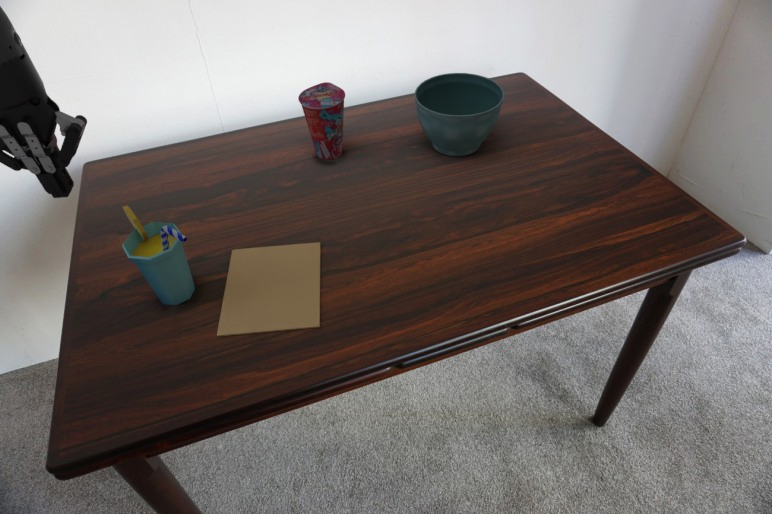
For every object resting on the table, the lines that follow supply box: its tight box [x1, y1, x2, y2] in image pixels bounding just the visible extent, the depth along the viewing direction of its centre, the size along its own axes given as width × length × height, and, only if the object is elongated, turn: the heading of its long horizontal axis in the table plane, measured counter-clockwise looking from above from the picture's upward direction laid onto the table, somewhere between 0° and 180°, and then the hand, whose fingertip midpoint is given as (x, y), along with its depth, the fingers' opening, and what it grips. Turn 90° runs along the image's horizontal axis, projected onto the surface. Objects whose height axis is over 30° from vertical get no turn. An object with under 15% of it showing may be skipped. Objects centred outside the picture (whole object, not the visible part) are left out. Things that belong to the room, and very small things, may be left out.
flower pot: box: [414, 72, 505, 157], centre depth 99 cm, size 16×16×11 cm
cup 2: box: [297, 81, 346, 161], centre depth 98 cm, size 9×8×12 cm
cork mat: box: [216, 241, 321, 338], centre depth 77 cm, size 14×17×1 cm
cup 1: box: [121, 205, 196, 306], centre depth 72 cm, size 14×8×15 cm, turn 59°
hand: (64, 193), depth 63 cm, fingers closed
